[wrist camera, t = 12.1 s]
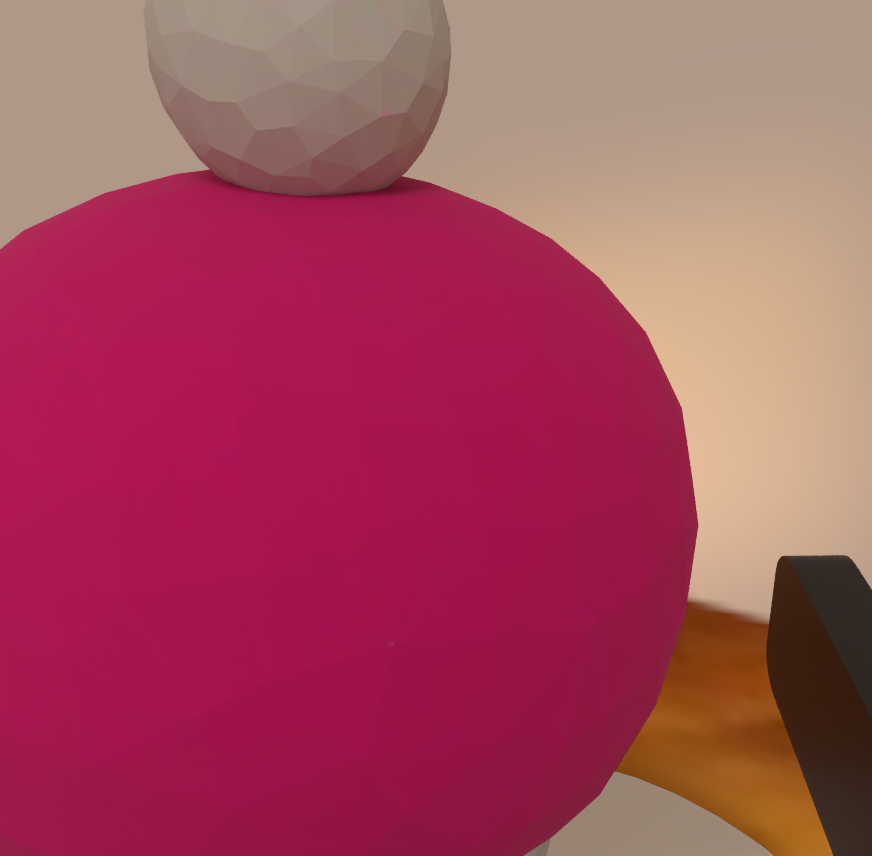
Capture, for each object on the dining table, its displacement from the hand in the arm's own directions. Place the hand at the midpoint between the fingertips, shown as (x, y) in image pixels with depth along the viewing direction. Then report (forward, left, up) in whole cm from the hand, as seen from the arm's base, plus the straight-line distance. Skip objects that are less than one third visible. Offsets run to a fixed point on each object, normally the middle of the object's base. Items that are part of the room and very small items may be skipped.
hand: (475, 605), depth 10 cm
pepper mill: (+4, +3, -12) cm, 13 cm away
